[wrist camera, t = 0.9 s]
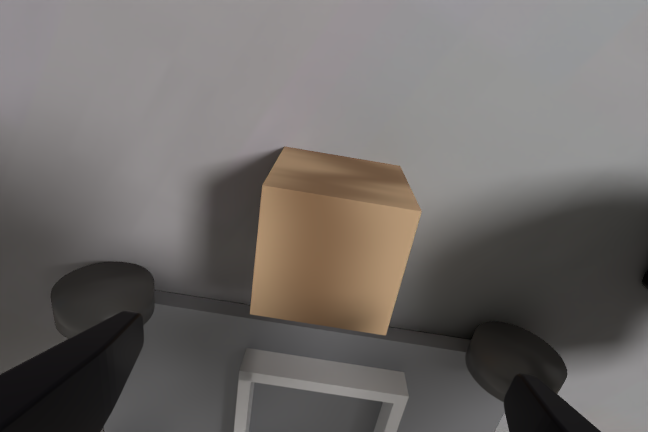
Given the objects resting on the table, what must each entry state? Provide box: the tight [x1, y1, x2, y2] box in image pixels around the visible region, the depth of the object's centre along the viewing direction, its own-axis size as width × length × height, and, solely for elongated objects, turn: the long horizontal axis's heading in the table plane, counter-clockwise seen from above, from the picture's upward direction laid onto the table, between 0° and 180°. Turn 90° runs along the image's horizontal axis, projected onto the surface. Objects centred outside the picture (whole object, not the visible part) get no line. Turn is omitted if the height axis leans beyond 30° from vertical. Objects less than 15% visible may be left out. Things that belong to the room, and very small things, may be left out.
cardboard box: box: [250, 147, 422, 336], centre depth 15 cm, size 5×5×5 cm
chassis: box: [51, 262, 567, 432], centre depth 20 cm, size 23×15×4 cm, turn 81°
